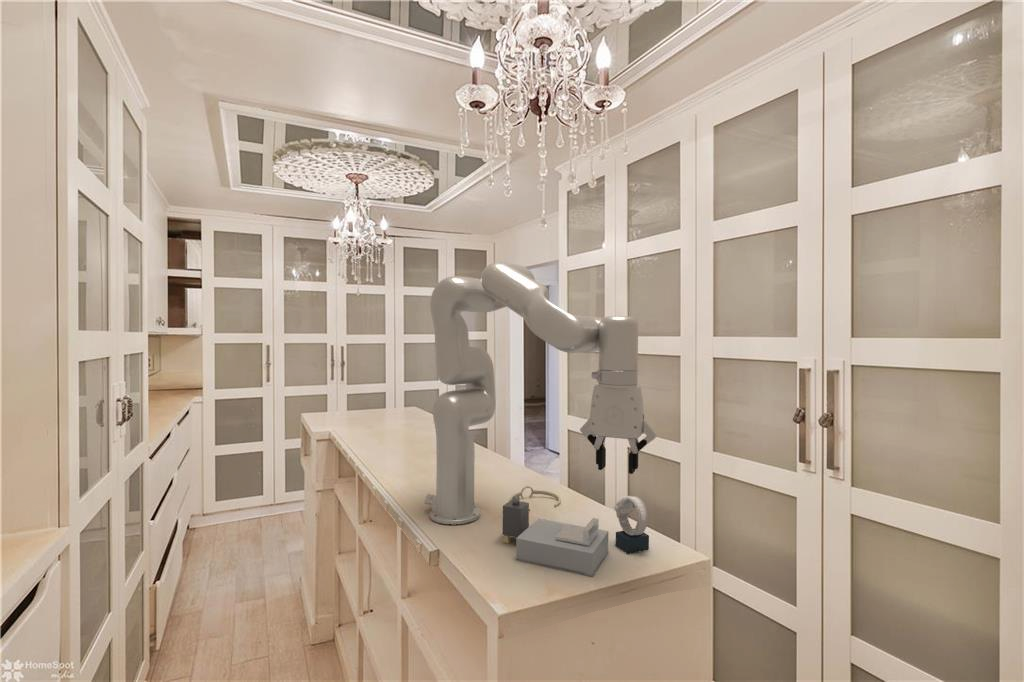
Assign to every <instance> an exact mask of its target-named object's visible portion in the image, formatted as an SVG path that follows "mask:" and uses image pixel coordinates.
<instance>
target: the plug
mask: <svg viewBox="0 0 1024 682" xmlns="http://www.w3.org/2000/svg"><path fill="white" fill-rule="evenodd" d="M520 498H521V496H513V497H512V500H510V501H509V500H508V502H506V503H504V504H503V505H502V536H503V543H505V544H509V543H510V542H511V537H513V538H515V540H516V538H517V537H518V536H519V535H520V534H521V533H523V532H524V531H525V530H526V529H527V528H528V527H529V526H530V523H529V522H530V519H529V518H530V511H529V508H530V503H529V502H527V501H521V500H520Z"/></svg>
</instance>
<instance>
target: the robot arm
mask: <svg viewBox="0 0 1024 682" xmlns="http://www.w3.org/2000/svg"><path fill="white" fill-rule="evenodd" d="M549 299H550V292H549V289H548V287H546V285H544V284H542V283H540V281H537V280H536V278H535V275H534V274H533V272H532V271H531V270H530V269H528V267H525V266H523V265H519V264H514V263H509V262H503V261H496V262H492V263H490V264H488V265H487V266H485V268H484V269H483V270H482V271H481V274H480V278H476V277H469V276H462V275H461V276H459V275H456V276H454V275H453V276H448V277H445V278H443V279H442V280H440V281H439V282H437V284H436V285H435V286H434V289H433V290H432V292H431V296H430V303H429V304H430V305H429V306H430V314H431V315H430V316H431V318H432V324H433V330H434V332H433V333H434V349H435V351H434V352H435V364H436V366H435V367H436V373H437V378H438V380H439V381H440V382H441V383H442V384H444V385H449V386H456V385H457V386H458V385H465V388H463V389H456V390H449V391H446V392H443V393H441V394H440V395H438V397H436V399H435V401H434V402H433V405H432V418H433V423H434V429H435V436H436V438H435V440H436V442H435V443H436V444H435V445H436V448H435V449H436V474H435V475H436V478H435V479H436V480H435V482H436V486H435V487H436V489H435V491H436V494H431V493H427V494H426V496H425V499H424V504H425V505H428V506H430V505H431V507H432V509H430V512H429V518H430V520H432V521H433V522H435V523H438V524H441V523H442V525H449V524H451V525H452V526H453V525H456V524H457V525H464V524H468V523H472V522H474V521H477V520H478V519H479V518H480V517H481V509H480V508H479V507H478V506H476V505H475V460H476V459H475V443H474V442H475V441H474V438H473V436H472V433H471V432H470V428H469V427H471V426H472V427H473V426H477V425H481V424H486V423H487V422H489V421H490V420H492V418H493V417H494V414H495V413H496V412H495V411H496V405H497V404H496V402H497V401H496V400H497V399H496V386H495V384H496V383H495V371H494V363H493V360H492V358H491V356H490V354H489V352H487V350H485V349H484V348H481V347H478V346H470V340H469V329H468V326H467V323H466V321H465V319H464V318H463V316H462V314H461V313H463V312H470V313H471V312H472V313H492V312H495V311H498V310H500V309H501V310H502V309H503V308H507V309H509V310H510V311H513V312H514V313H516V314H517V315H518V316H520V317H521V318H523V320H524V322H525V324H526V326H527V327H528V328H529V330H530V331H531V332H532V333H533V334H534V335H535V336H536V337H538V338H539V339H541V340H543V341H544V342H545V343H547V344H548V345H550V346H551V347H553V348H554V349H556V350H559V351H561V352H564V353H573V354H574V353H594V352H598V369H597V371H592V372H591V379H595V380H596V381H597V383H598V384H594V386H593V390H592V394H591V395H592V396H591V403H590V412H589V419H588V420H587V421H586V422H585V423H584V424H583V425H582V426H581V427H580V429H579V431H580V433H581V434H582V435H583V436H584V437H585V438H586V439H587V440H588V442H590V444H591V445H592V446H593V448H594V449H595V464H596V465H597V470H598V471H603V470H604V469H605V467H606V466H607V465H606V458H607V457H606V456H607V455H606V454H607V452H606V451H607V448H606V447H605V445H604V444H605V441H606V438H613V439H622V440H623V439H624V440H628V444H629V448H630V452H629V453H628V470H627V471H628V473H629V474H630V475H633V474H634V473H635V471H636V470H638V468H639V452H640V451H641V450H642V449H644V448H645V446H647V445H648V444H649V443H651V442H652V441H654V440H655V439H656V438H657V433H656V432H655V431H654V430H653V429H652V428H651V426H650V425H649V424H648V422H647V421H646V419H645V410H644V407H645V406H644V398H643V392H642V387H641V386H640V385H638V375H639V374H638V369H639V368H638V367H639V366H638V365H639V363H638V362H639V361H638V359H639V322H638V320H637V319H636V318H635V317H633V316H626V315H624V316H622V315H621V316H620V315H619V316H617V315H615V316H612V315H611V316H610V315H609V316H605V317H599V316H591V315H578V314H571V313H570V312H567V311H566V310H564V309H562V308H560V307H558V306H557V305H556V304H554V303H552V302H551V301H550V300H549ZM643 434H645V437H643V438H642V439H641V440H640V441H639V438H640V437H641V436H642V435H643ZM451 525H450V526H451Z"/></svg>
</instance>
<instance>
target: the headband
mask: <svg viewBox="0 0 1024 682" xmlns="http://www.w3.org/2000/svg"><path fill="white" fill-rule="evenodd" d="M526 489H530V490H531V493H530V495H529V496H528V497H531V498H532V497H533V495H543V496H550V497H551V498H555V500H557V502H556V503H555V504H554V506H553V507H554V508H557V507H559V506H560V505H561V497H560V495H558V494H557V493H554V492H552V491H548V490H541V489H540V490H539V489H533V488H532V487H531V486H530V485H525V486H524V487H522V489H521V490H520V491H519V492H515V493H514V494H513V495H511V496H510V497H509V500H508V502H509V501H510V500H512V497H513V496H519V497H520V498H522V499H523V497H524V496H523V492H524V490H526ZM529 512H531V508H530V507H529Z"/></svg>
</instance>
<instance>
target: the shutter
mask: <svg viewBox="0 0 1024 682" xmlns="http://www.w3.org/2000/svg"><path fill="white" fill-rule="evenodd" d="M599 520H600V519H599V518H595V517H592V519H591V520H590V521H589V522H588V523H587V524H586V525H585V526H582V527H577V526H578V525H577V526H571V525H572V524H571V525H566V526H565V527H564V528H563V529H562V530H561V531H560V532H559V533H558V534H557V535H556V536H555V539H556V540H561V541H566V542H571V543H576V544H581V545H587V546H589V545H590V544H591V542H592V541H593V540H594V538H595V537H596V536H597V534H598V529H599ZM583 527H585V528H583Z"/></svg>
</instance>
